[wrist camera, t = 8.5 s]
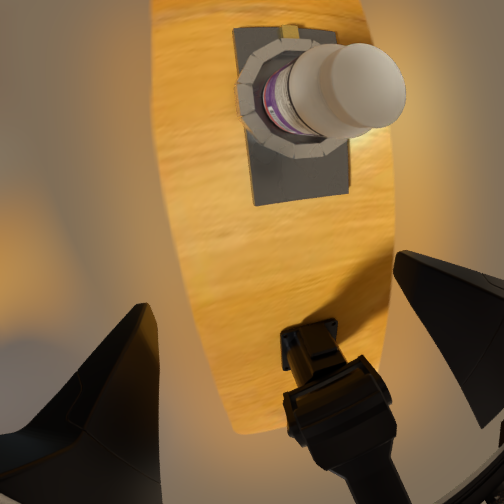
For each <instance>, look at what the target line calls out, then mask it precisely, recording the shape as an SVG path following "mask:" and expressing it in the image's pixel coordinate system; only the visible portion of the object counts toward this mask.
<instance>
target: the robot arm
mask: <svg viewBox="0 0 504 504" xmlns="http://www.w3.org/2000/svg"><path fill="white" fill-rule="evenodd" d="M393 275H394V277H395V279H396V280H397V282H398V284H399V285H400V287H401V289H402V291H403V293H404V294H405V296H406V298H407V300H408V302H409V303H410V305H411V307H412V308H413V310H414V311H415V313H416V314H417V316H418V317H419V319H420V320H421V322H422V323H423V325H424V326H425V328H426V329H427V331H428V332H429V334H430V336H431V337H432V339H433V340H434V342H435V344H436V345H437V347H438V348H439V350H440V352H441V353H442V355H443V357H444V358H445V360H446V362H447V364H448V365H449V367H450V369H451V371H452V372H453V374H454V376H455V378H456V379H457V381H458V383H459V385H460V387H461V389H462V391H463V393H464V395H465V397H466V399H467V401H468V403H469V405H470V407H471V409H472V411H473V413H474V415H475V417H476V420H477V422H478V424H479V426H480V428H481V429H483V428H484V427H485V426H486V425H487V424H488V423H489V422H490V421H491V420H492V419H493V418H495V416H497V414H499V412H500V411H501V410H502V409H503V408H504V280H502V279H498V278H496V277H492V276H489V275H486V274H483V273H482V274H481V273H480V272H477V271H474V270H471V269H468V268H465V267H462V266H458V265H455V264H452V263H448V262H445V261H442V260H439V259H435V258H432V257H429V256H425V255H422V254H419V253H415V252H412V251H408V250H403V251H399V252H397V254H396V257H395V262H394V268H393ZM333 322H334V323H333ZM337 326H338V321H337V320H336V319H335V318H332V319H329V320H325V321H321V322H317V323H314V324H310V325H306V326H302V327H298V328H294V329H290V330H285V331H282V332H281V333H280V344H281V361H282V369H283V371H288V370H291V371H292V374H293V376H294V379H295V381H296V384H297V387H298V388H296V389H294V390H292V391H290V392H288V391H287V392H285V393H283V396H284V400H283V406H284V409H285V412H286V416H287V432H288V435H289V436H290V437H292V438H295V439H296V441H297V442H298V443H299V444H300V445H301V447H306V446H307V447H308V449H309V451H310V453H311V455H312V457H313V460H314V461H315V462H316V464H317V465H318V466H320V467H321V468H323V469H324V470H326V471H328V470H329V471H331V472H333V473H334V474H336V475H338V476H340V477H341V478H343V479H345V481H346V483H347V485H348V487H349V489H350V492H351V494H352V496H353V498H354V501H355V503H356V504H412V503H411V501H410V499H409V496H408V494H407V492H406V490H405V487H404V485H403V483H402V481H401V479H400V476H399V474H398V472H397V470H396V468H395V466H394V464H393V461H392V459H391V451H392V445H393V439H394V438H395V437H396V431H397V430H396V429H397V424H396V421H395V419H394V416H393V414H392V412H391V410H390V408H389V405H391V404H392V398H391V395H390V393H389V390H388V388H387V386H386V384H385V383H384V381H383V379H382V378H381V376H380V375H379V374H378V373H377V371H376V370H375V369H374V368H373V367H372V365H371V364H370V363H369V362H368V361H367V359H366V358H365V357H364V356H363V355H360V356H358V358H357V359H355V360H353V361H351V362H349V363H348V362H347V360H346V358H345V357H344V355H343V353H342V351H341V350H340V348H339V346H338V345H337V343H336V335H337ZM284 335H285V336H284ZM159 375H160V363H159V348H158V328H157V323H156V320H155V317H154V315H153V312H152V310H151V307H150V305H149V304H148V303H140V304H136V305H135V306H134V307H133V308H132V309H131V310H130V311H129V312H128V314H126V316H125V317H124V318H123V319H122V320H121V321H120V322H119V323H118V324H117V325H116V327H115V328H114V329H113V330H112V331H111V332H110V333H109V334H108V335H107V337H106V338H105V339H104V340H103V341H102V342H101V344H100V345H99V346H98V347H97V348H96V349H95V350H94V351H93V352H92V354H91V355H90V356H89V357H88V358H87V359H86V361H85V362H84V363H83V364H82V365H81V366H80V368H79V369H78V371H77V372H75V373H74V375H73V376H72V377H71V378H70V380H69V381H68V382H67V383H66V384H65V385H64V386H63V388H62V389H61V390H60V391H59V392H58V393H57V394H56V395H55V396H54V397H53V398H52V399H51V400H50V401H49V402H48V404H47V405H46V406H45V407H44V408H43V409H42V410H41V411H40V412H39V413H38V414H37V415H36V416H35V417H34V418H33V419H32V420H31V421H30V422H29V423H28V424H27V425H26V426H25V427H24V428H22V429H20V430H19V431H16V432H14V433H8V434H2V435H0V504H163V503H162V493H161V485H160V483H161V480H160V463H159V421H158V420H159ZM484 500H485V501H486V503H487V504H504V420H503V421H502V422H501V429H500V439H499V449H498V450H497V451H496V452H495V453H494V454H493V455H492V456H491V457H490V458H489V459H488V460H487V461H486V462H485V463H484V464H483V465H482V466H480V467H479V468H478V469H477V470H476V471H475V472H474V473H473V474H472V475H470V476H469V477H468V478H467V479H466V480H464V481H463V482H462V483H461V484H460V485H458V486H457V487H456V488H454V489H453V490H452V491H450V492H449V493H448V494H446V495H445V496H444V497H442V498H441V499H439V500H438V501H437V502H435V503H434V504H481V503H482V502H483V501H484Z"/></svg>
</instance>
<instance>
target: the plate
mask: <svg viewBox="0 0 504 504" xmlns="http://www.w3.org/2000/svg"><path fill="white" fill-rule="evenodd" d="M298 32H299V39H311V42H312V41H313V40H314V41H316V42H318V43H319V44H321V45H322V44H337V41H336V36H335V32H331V31H323V30H313V29H301V28H298ZM232 34H233V42H234V50H235V58H236V66H237V74H238V76H239V74H240V72H241V70H242V68H243V66H244V64H245V62H246V61H247V59H248V58H249V56H250V55H251V54H252V53H253V52H255V51H257V50H258V49H260V48H262V47H264V46H266V45H267V44H269V43H271V42H273V41H275V40H277V39H279V40H280V39H281V34H280V28H279V27H255V28H233V31H232ZM297 57H298V56H294V55H279V56H277V57H275V58H274V59H272V60H270V61H268V62H267V63H265V64H263V65H262V66H261V68H260V70H259V72H258V74H257V76H256V78H255V80H254V82H253V84H252V88H253V96H254V105H255V112H256V113H257V114H258V116H259V117H260V118H261V120H262V121H263V122H264V124H265V125H266V126H267V128H268V129H269V130H270V132H271V133H272V134H274V135H276V136H278V137H280V138H283V139H285V140H287V141H289V142H291V143H302V142H313V141H314V140H316V139H317V138H319V137H320V136H311V135H300V134H293V133H290V132H287V131H285V130H283V129H281V128H279V127H278V126H277V125H275V124H274V123H273V122H272V120H271V119H270V118H269V116H268V115H267V113H266V111H265V108H264V104H263V91H264V87H265V85H266V83H267V81H268V80H269V78H270V77H271V76H272V75H273V74H274V73H275V72H276V71H278V70H279V69H281V68H282V67H284V66H285V65H287V64H288V63H290V62H291V61H293V60H294V59H295V58H297ZM244 131H245V139H246V147H247V156H248V164H249V173H250V181H251V190H252V198H253V204H254V206H261V205H268V204H274V203H281V202H288V201H295V200H302V199H309V198H317V197H324V196H332V195H341V194H349V186H348V148H347V141H346V142H344V143H343V144H342V145H340V146H339V147H337V148H336V149H335V150H333V151H332V152H330V153H329V154H328V155H326V156H325V155H323V157H312V158H300V159H293V158H289V157H286V156H284V155H282V154H280V153H277V152H275V151H273V150H271V149H268V148H266V147H264V146H261V145H259V143H257V142H256V141H255V140H254V138H253V137H252V136H251V134H250V133H249V132H248V131H247V129H246V128H245V127H244Z"/></svg>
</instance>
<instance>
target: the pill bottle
mask: <svg viewBox="0 0 504 504" xmlns="http://www.w3.org/2000/svg"><path fill="white" fill-rule="evenodd" d="M405 101H406V88H405V83H404V80H403V76H402V74H401V72H400V70H399V68H398V67H397V65H396V63H395V62H394V61H393V60H392V59H391V57H389V56H388V55H387V54H386V53H385V52H383V51H382V50H380V49H379V48H377V47H375V46H372V45H369V44H364V43H355V44H350V45H347V46H344V45H339V44H322V45H318V46H315V47H313V48H311V49H309V50H307V51H306V52H304V53H303V54H301V55H300V56H298V57H297V58H295V59H294V60H293V61H291V62H290V63H288V64H287V65H285V66H284V67H282V68H281V69H279V70H278V71H276V72H275V73H274V74H273V75H272V76H271V77H270V78H269V80H268V81H267V83H266V85H265V87H264V91H263V104H264V108H265V111H266V113H267V115H268V116H269V118H270V119H271V120H272V122H273V123H274V124H275V125H277V126H278V127H279V128H281V129H283V130H285V131H287V132H290V133H293V134H300V135H311V136H320V137H327V138H336V139H349V138H355V137H359V136H361V135H363V134H365V133H367V132H368V131H370V130H371V129H372V128H382V127H386V126H388V125H390V124H392V123H393V122H395V121H396V120H397V119H398V117H399V116H400V115H401V113H402V111H403V108H404V106H405Z"/></svg>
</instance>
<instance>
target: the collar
mask: <svg viewBox="0 0 504 504" xmlns="http://www.w3.org/2000/svg"><path fill="white" fill-rule="evenodd" d="M279 28H280V34H281V39H280V40H279V39H277V40H275V41H273V42H271V43H269V44H267V45H266V46H264V47H262V48H260V49H258V50H257V51H255V52H253V53H252V54H251V55H250V56H249V58H248V59H247V61H246V62H245V64H244V66H243V68H242V70H241V72H240V74H239V76H238V78H237V80H236V82H235V85H236V86H235V87H234V93H235V101H236V109H237V116H242V117H241V118H239V120H240V122H241V123H242V124H243V125H244V127H245V128H246V129H247V131H248V132H249V133H250V134H251V136H252V137H253V138H254V140H255V141H256V142H257V143H259V145H261V146H264V147H266V148H268V149H271V150H273V151H275V152H277V153H280V154H282V155H284V156H286V157H289V158H293V159H300V158H312V157H323V155H325V156H326V155H328V154H329V153H330V152H332V151H333V150H335V149H336V148H337V147H339V146H340V145H342V144H343V143H344V142H346V141H347V139H336V138H327V137H319V138H317V139H316V140H314V141H313V142H302V143H291V142H289V141H287V140H285V139H283V138H280V137H278V136H276V135H274V134H272V133H271V132H270V130H269V129H268V128H267V126H266V125H265V124H264V122H263V121H262V120H261V118H260V117H259V116H258V114H257V113H256V112H255V105H254V96H253V88H252V84H253V82H254V80H255V78H256V76H257V74H258V72H259V70H260V68H261V66H262V65H263V64H265V63H267V62H268V61H270V60H272V59H274V58H275V57H277V56H279V55H294V56H300V55H301V54H303V53H304V52H306V51H307V50H309V49H311V48H313V47H315V46H318V45H321V44H319V43H318V42H316V41H314V40H313V41H312V42H311V39H299V32H298V26H293V25H281V26H280V27H279Z"/></svg>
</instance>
